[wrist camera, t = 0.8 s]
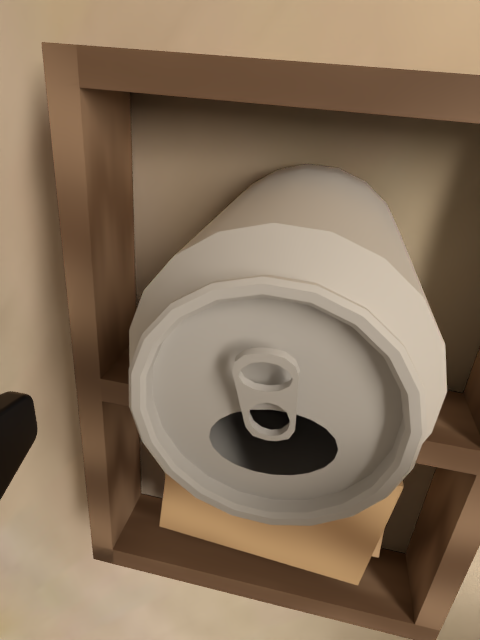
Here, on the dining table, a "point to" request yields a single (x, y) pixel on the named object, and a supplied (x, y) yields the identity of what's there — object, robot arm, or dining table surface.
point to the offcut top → (284, 534)
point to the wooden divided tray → (120, 307)
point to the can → (289, 354)
